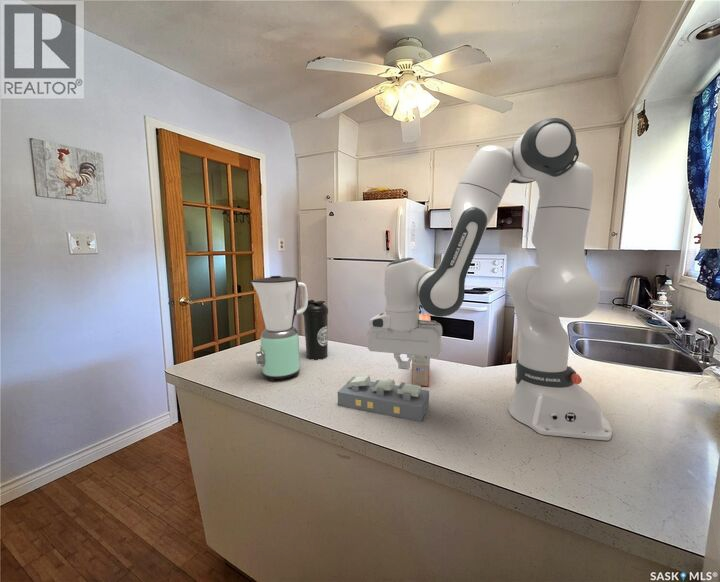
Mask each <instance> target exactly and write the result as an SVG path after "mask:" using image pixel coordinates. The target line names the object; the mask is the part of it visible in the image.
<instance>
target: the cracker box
mask: <svg viewBox="0 0 720 582" xmlns="http://www.w3.org/2000/svg"><path fill="white" fill-rule="evenodd" d="M419 320H426V321H432V320H431V314H429V313H419ZM430 364H431V356H420V355H414V357H413V358H412V360H411V384H413V385H419V386H421V387H430V372H431V371H430V368H431V367H430V366H431V365H430Z"/></svg>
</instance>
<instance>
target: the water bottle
mask: <svg viewBox="0 0 720 582" xmlns="http://www.w3.org/2000/svg"><path fill="white" fill-rule="evenodd" d="M324 303H325V304H324ZM302 315H303V325H304V326H303V328H304V336H305V337H304V338H305V351H306V353H305V354H306V359H308V358H309V359H308V360H311V359H314V360H313V361H319V360H318V359H321V360H324V359H327V357H328V354H329V352H328V351H329V349H328V341H329V338H328V337H329V335H328V332H329V331H328V327H329V326H328V315H329V308H328V306H327V305H326V301H325V300H317V301H315V299H308V306H307V308H306V310H305V311H304V312H303V313H302ZM323 358H324V359H323Z"/></svg>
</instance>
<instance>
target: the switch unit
mask: <svg viewBox="0 0 720 582" xmlns="http://www.w3.org/2000/svg"><path fill="white" fill-rule="evenodd" d="M374 382H375V381H372V380H370V381H369V382H368V383H367V384H366V386H359V385H356V384H352V387H348V384H347V382H346V383H345V384H344V385H343V386H342V387H341V388H340V389H339V390H338V391H337V406H340V407H341V406H342V407H345V408H346V407H347V408H350V409H355V410H360V411H361V410H362V411H366V412H371V413H377V414H380V415H385V416H392V417H395V418H400V419H405V420H410V421H411V420H412V421H415V422H416V421H417V422H421V423H422V421H423V418H424V416H425V414H426V412H427V409H428V407H429V405H430V390H428V389H422V388H421V391H420V393H419V395H418V397H415V396H411V394H409V393H403V394H398V393H397V388H398V387H399V385H396V384H395V385H394V386H393V388H392V389H391V390H385V391H384V389H380V388H377V389H376V391H372V388H371V386H372V385H373V384H374Z"/></svg>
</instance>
